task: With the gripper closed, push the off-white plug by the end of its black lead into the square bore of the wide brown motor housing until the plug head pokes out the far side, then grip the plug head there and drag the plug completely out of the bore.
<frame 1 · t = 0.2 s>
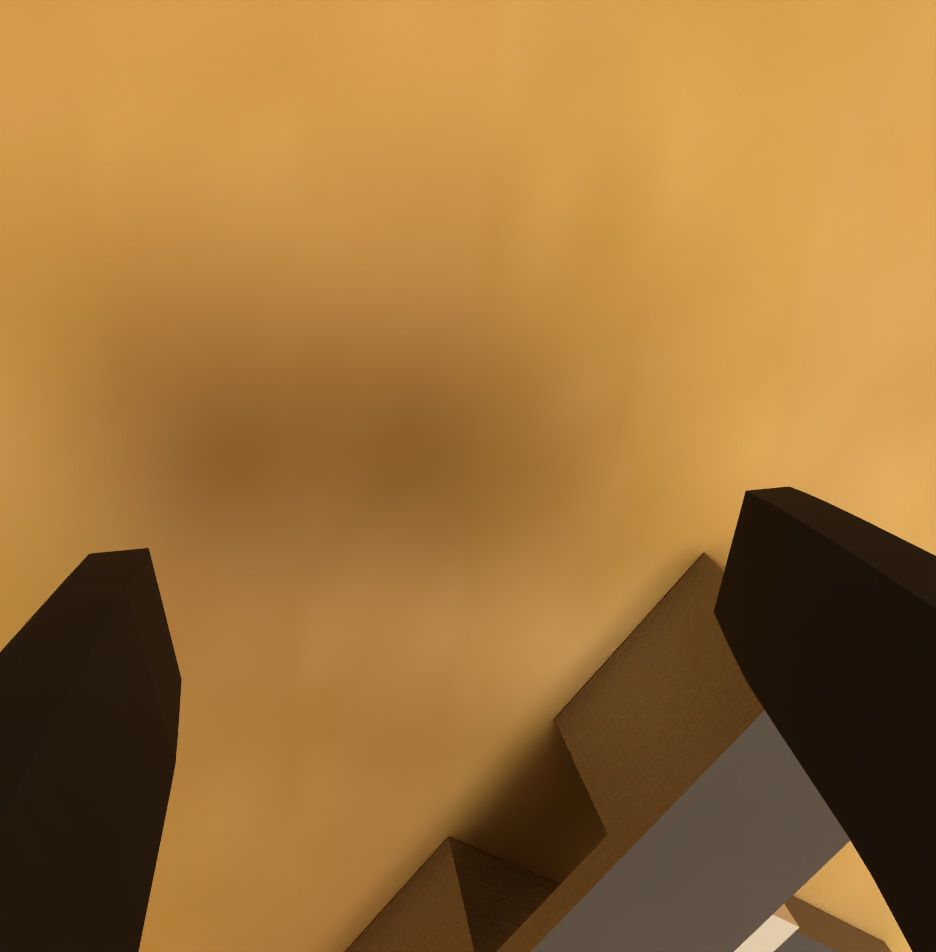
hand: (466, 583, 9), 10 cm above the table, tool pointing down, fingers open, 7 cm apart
plug: (765, 906, 31), on the table
housing: (565, 810, 26), on the table
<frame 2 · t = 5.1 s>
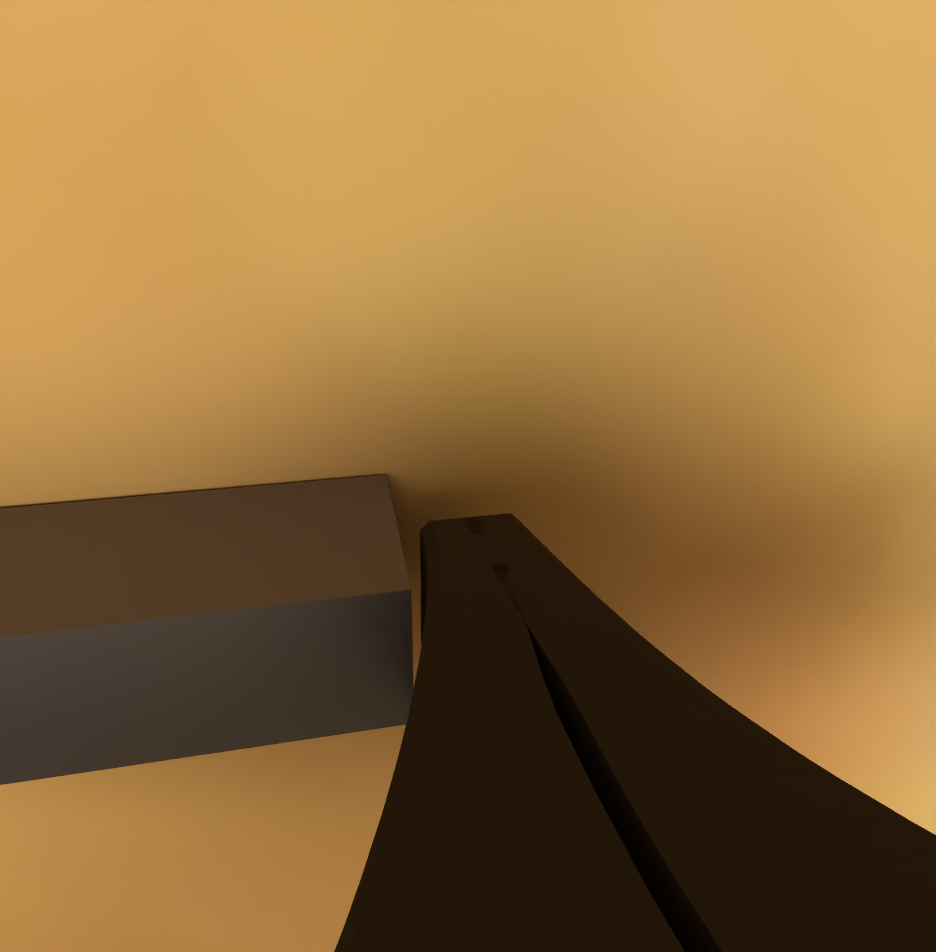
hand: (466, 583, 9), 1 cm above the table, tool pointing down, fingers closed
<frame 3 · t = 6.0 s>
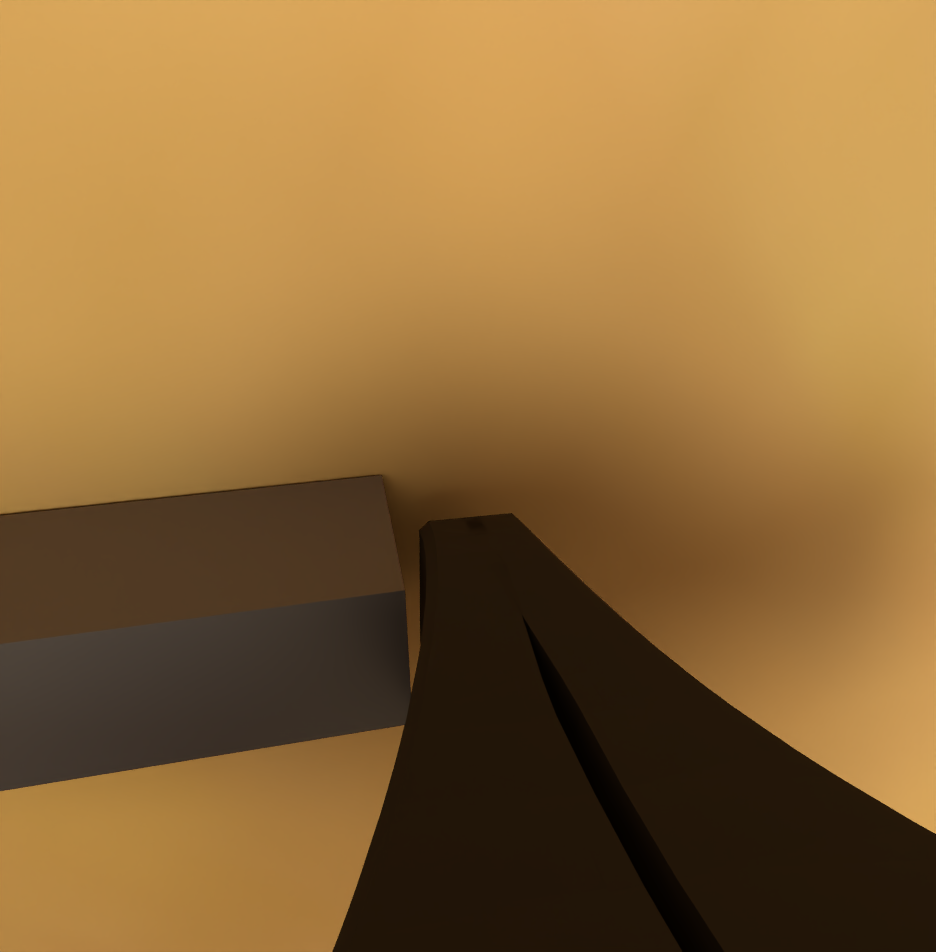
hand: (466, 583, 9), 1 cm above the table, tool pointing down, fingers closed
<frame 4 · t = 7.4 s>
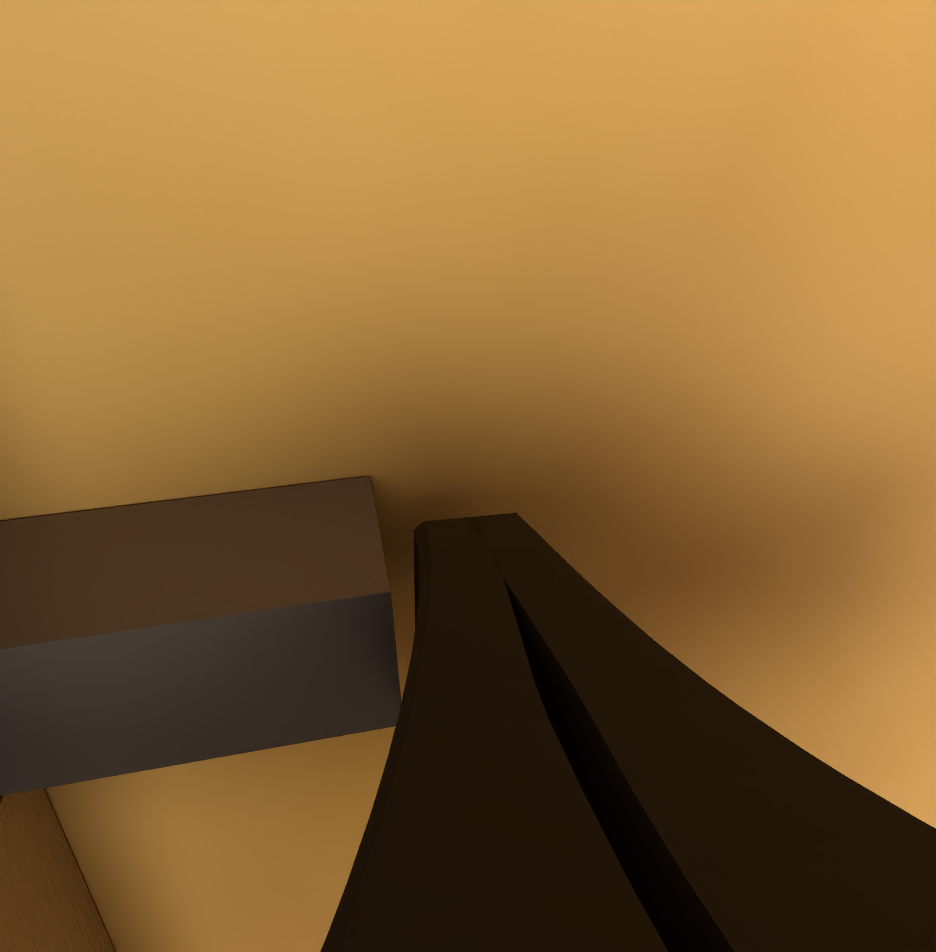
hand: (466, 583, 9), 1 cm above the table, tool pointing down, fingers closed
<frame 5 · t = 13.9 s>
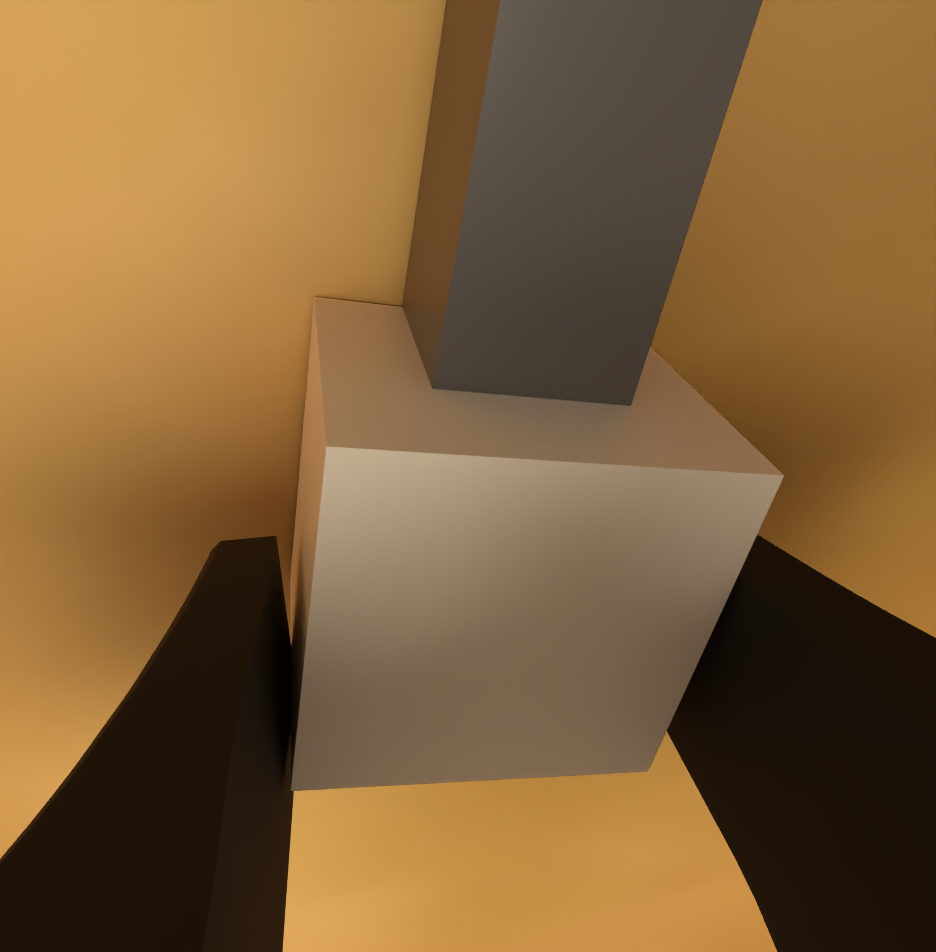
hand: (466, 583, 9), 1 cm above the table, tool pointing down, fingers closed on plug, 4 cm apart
when the fingers open (1 cm above the table, at t = 16.0 s): plug stays where it is, on the table.
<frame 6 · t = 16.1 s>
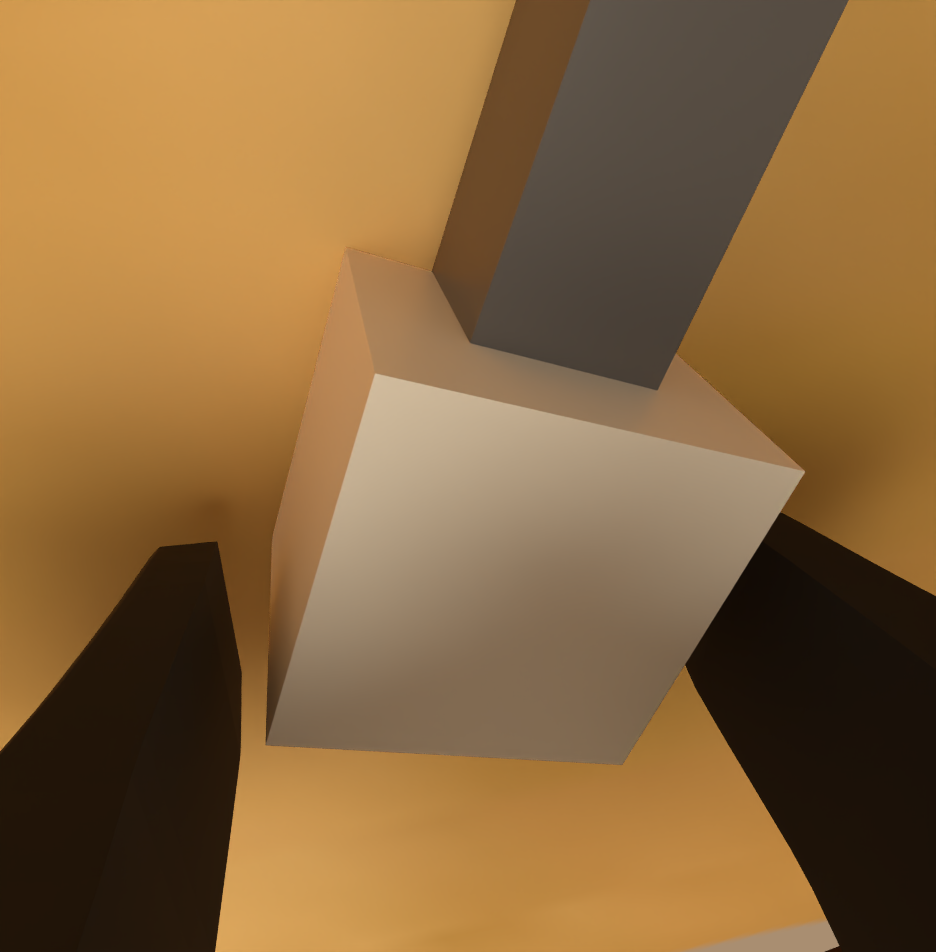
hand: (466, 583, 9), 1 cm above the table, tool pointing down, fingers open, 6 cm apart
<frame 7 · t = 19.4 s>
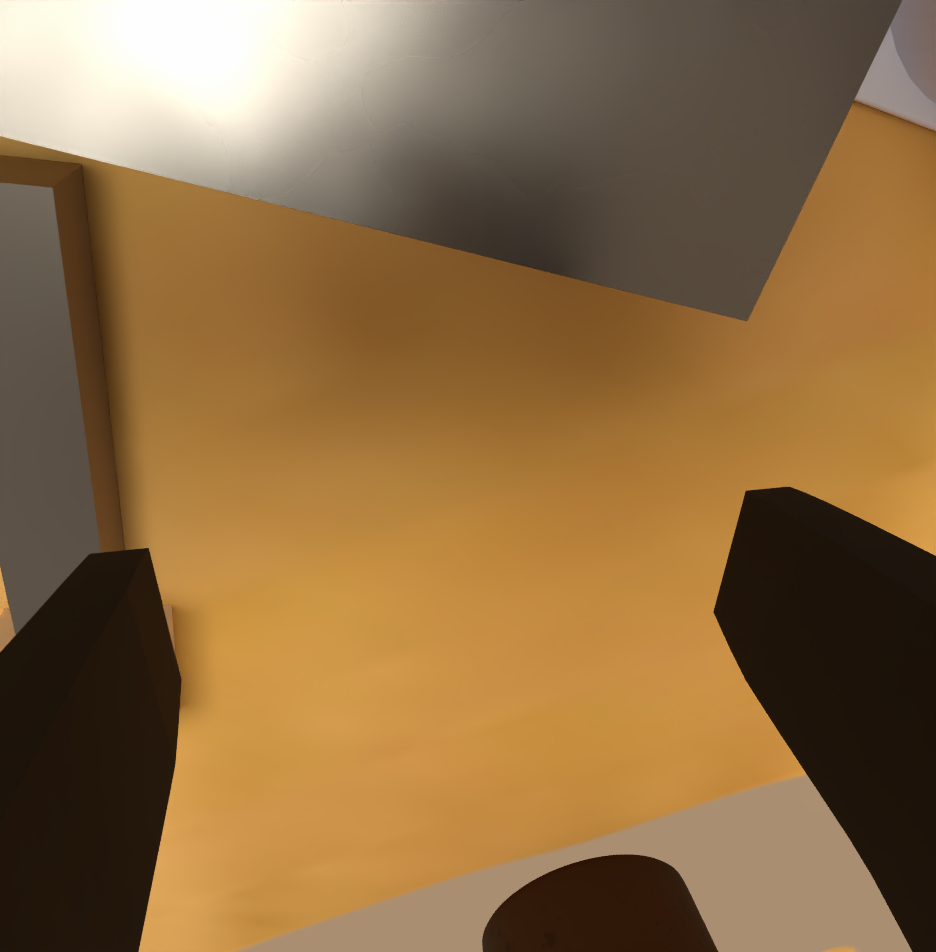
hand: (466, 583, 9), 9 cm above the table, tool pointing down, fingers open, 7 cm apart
plug: (73, 493, 18), on the table
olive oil: (583, 909, 34), on the table
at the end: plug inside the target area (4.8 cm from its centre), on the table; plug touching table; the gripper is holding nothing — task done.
